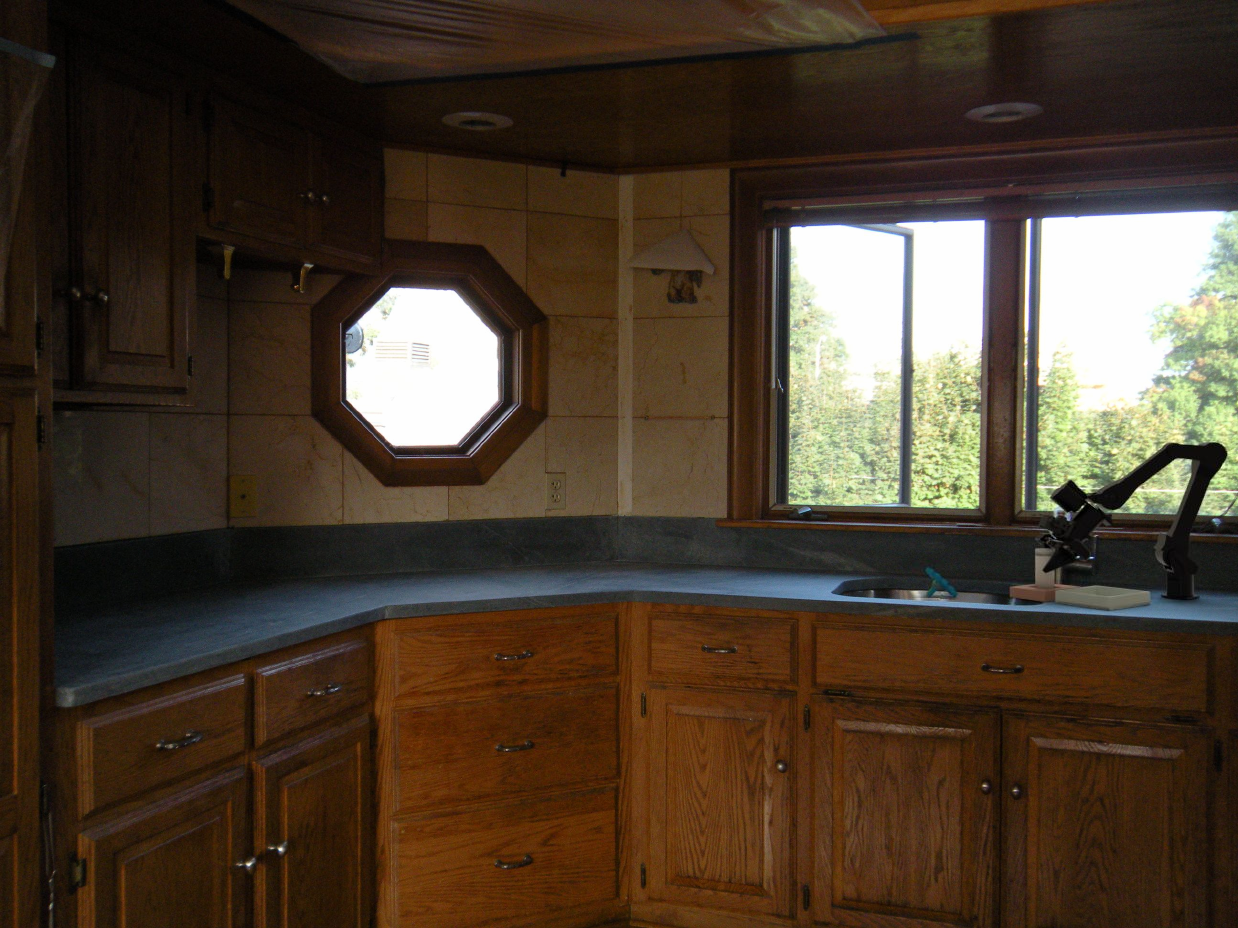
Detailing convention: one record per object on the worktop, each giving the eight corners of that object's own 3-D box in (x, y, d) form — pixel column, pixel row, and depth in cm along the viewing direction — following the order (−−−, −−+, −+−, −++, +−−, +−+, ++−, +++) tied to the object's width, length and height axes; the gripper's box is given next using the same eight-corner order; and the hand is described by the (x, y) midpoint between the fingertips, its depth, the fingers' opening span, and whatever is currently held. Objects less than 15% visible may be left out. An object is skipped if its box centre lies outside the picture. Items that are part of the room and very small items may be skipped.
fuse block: (1045, 592, 268) (1045, 582, 268) (1080, 596, 259) (1080, 586, 259) (1009, 596, 260) (1009, 586, 260) (1044, 601, 252) (1044, 591, 252)
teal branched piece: (963, 593, 256) (933, 564, 257) (946, 610, 256) (916, 581, 257) (954, 593, 267) (925, 566, 268) (938, 609, 267) (909, 582, 268)
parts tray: (1096, 597, 258) (1096, 585, 257) (1150, 604, 246) (1150, 591, 246) (1055, 603, 249) (1055, 590, 249) (1109, 610, 237) (1109, 597, 237)
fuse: (1042, 595, 263) (1042, 547, 262) (1058, 597, 259) (1057, 549, 259) (1031, 596, 260) (1031, 548, 260) (1046, 598, 257) (1046, 550, 256)
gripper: (1042, 501, 269) (1000, 544, 268) (1078, 505, 250) (1034, 552, 250) (1071, 531, 269) (1030, 574, 269) (1110, 537, 251) (1066, 584, 250)
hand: (1039, 570), depth 259 cm, fingers closed on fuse, 4 cm apart
